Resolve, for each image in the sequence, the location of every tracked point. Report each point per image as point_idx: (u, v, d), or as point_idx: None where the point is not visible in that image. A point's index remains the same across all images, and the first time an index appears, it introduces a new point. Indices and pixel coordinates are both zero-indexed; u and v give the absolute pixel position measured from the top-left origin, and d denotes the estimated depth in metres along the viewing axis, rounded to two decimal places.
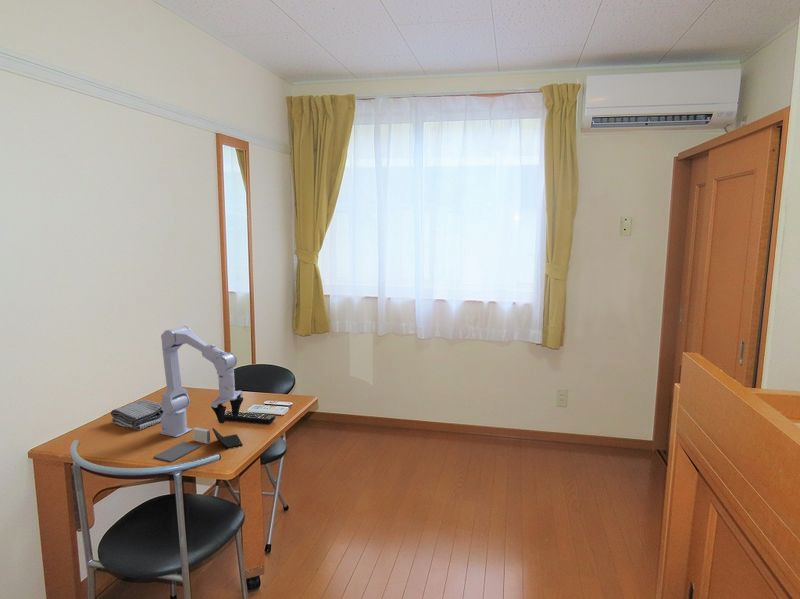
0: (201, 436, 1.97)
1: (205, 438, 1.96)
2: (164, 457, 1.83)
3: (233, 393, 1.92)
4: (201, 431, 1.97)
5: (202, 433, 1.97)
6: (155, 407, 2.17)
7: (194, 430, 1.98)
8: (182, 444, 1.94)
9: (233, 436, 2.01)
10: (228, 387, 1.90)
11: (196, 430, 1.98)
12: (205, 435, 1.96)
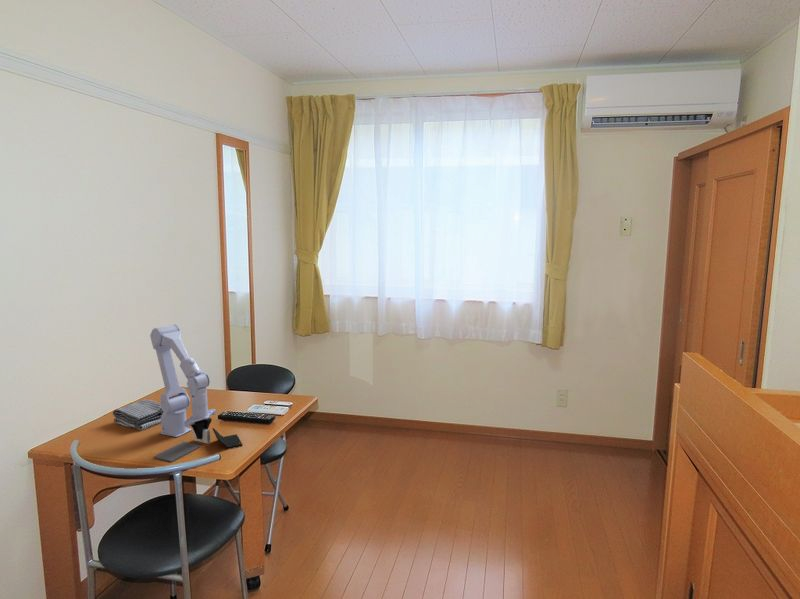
0: None
1: (205, 438, 1.96)
2: (164, 457, 1.83)
3: (206, 412, 1.96)
4: None
5: None
6: (157, 407, 2.17)
7: None
8: (182, 444, 1.94)
9: (233, 436, 2.01)
10: (201, 406, 1.94)
11: None
12: (205, 435, 1.96)
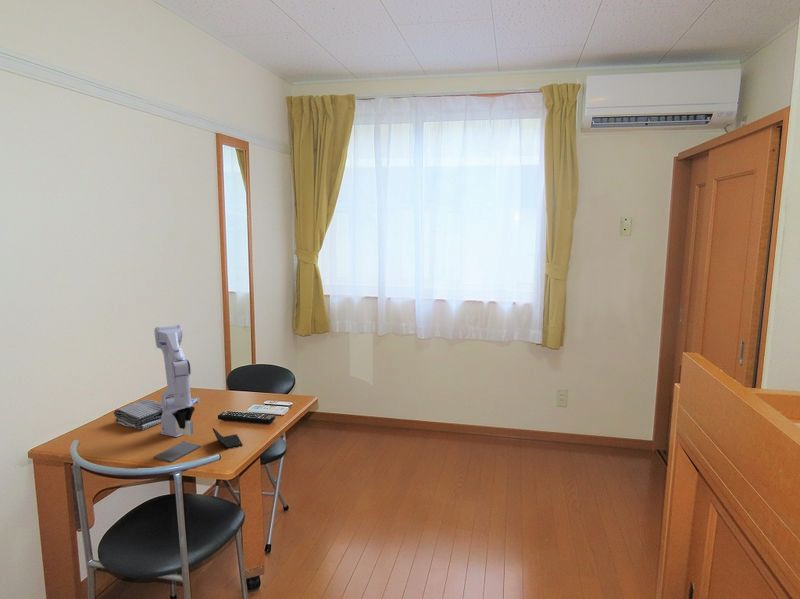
0: (184, 428, 1.90)
1: (188, 430, 1.89)
2: (164, 457, 1.83)
3: (189, 400, 1.89)
4: None
5: (185, 424, 1.90)
6: (158, 407, 2.17)
7: None
8: (182, 444, 1.94)
9: (233, 436, 2.01)
10: (183, 394, 1.87)
11: None
12: (188, 426, 1.89)
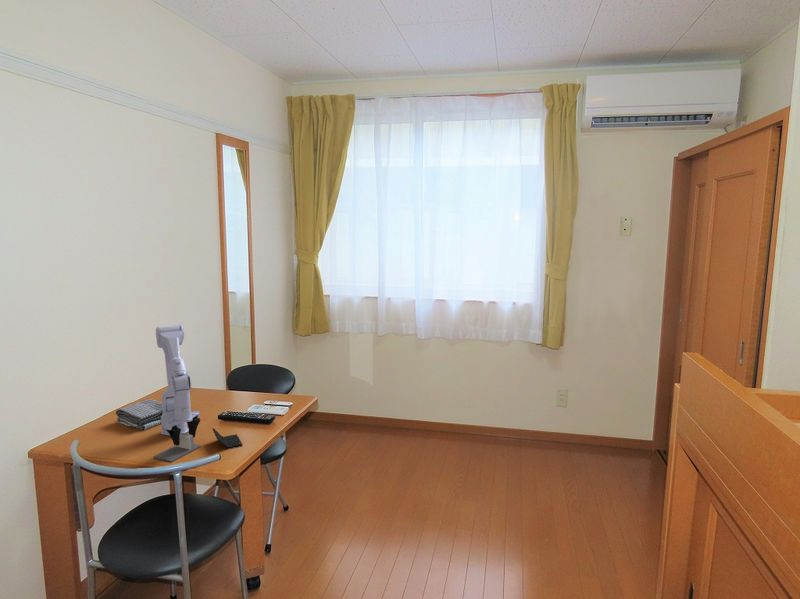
0: (184, 442, 1.91)
1: (188, 444, 1.90)
2: (164, 457, 1.83)
3: (189, 414, 1.89)
4: (184, 437, 1.90)
5: (185, 439, 1.90)
6: (160, 407, 2.17)
7: None
8: None
9: (233, 436, 2.01)
10: (183, 409, 1.87)
11: None
12: (188, 441, 1.90)
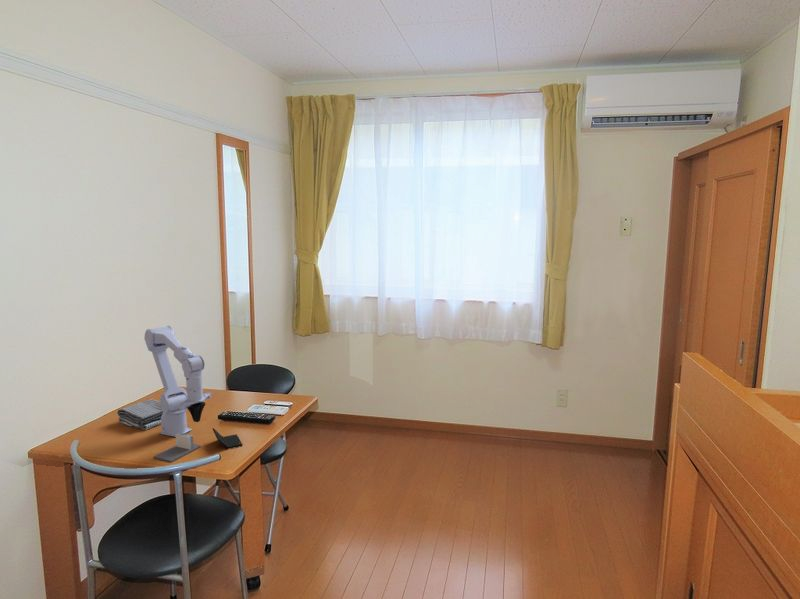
0: (184, 442, 1.91)
1: (188, 444, 1.90)
2: (164, 457, 1.83)
3: (201, 395, 1.94)
4: (184, 437, 1.90)
5: (185, 439, 1.90)
6: None
7: (177, 435, 1.92)
8: None
9: (233, 436, 2.01)
10: (195, 389, 1.92)
11: (179, 435, 1.91)
12: (188, 441, 1.90)
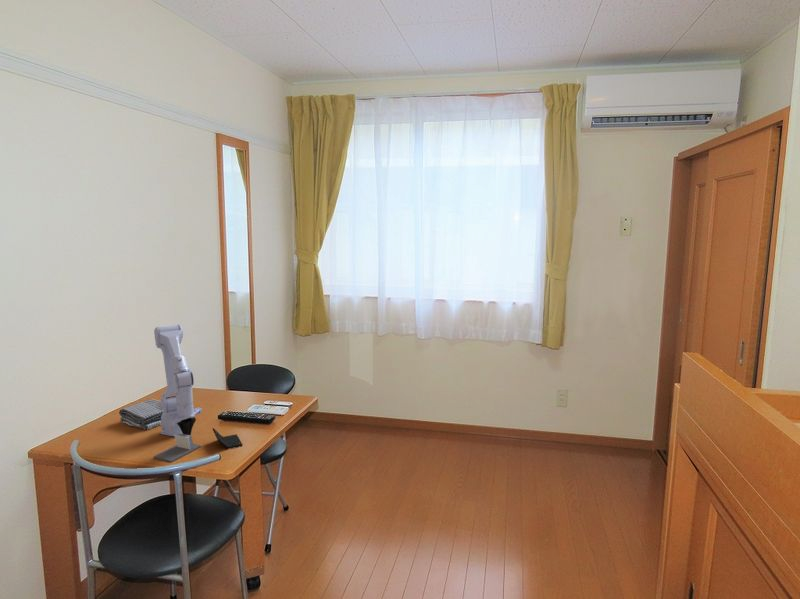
0: (183, 442, 1.90)
1: (188, 444, 1.90)
2: (164, 457, 1.83)
3: (191, 411, 1.90)
4: (183, 437, 1.90)
5: (184, 439, 1.90)
6: None
7: (176, 436, 1.91)
8: None
9: (233, 436, 2.01)
10: (186, 405, 1.88)
11: (178, 436, 1.91)
12: (187, 441, 1.89)
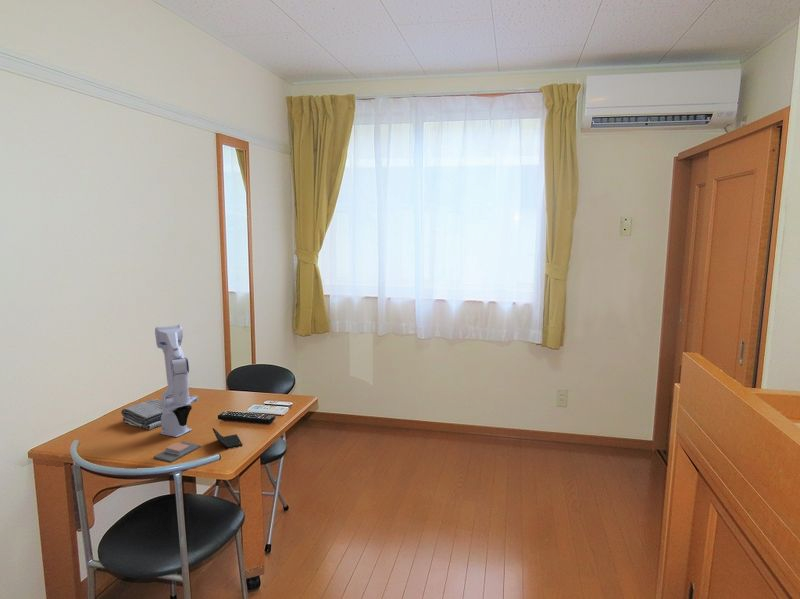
0: None
1: None
2: (164, 457, 1.83)
3: (187, 398, 1.88)
4: None
5: None
6: None
7: None
8: None
9: (233, 436, 2.01)
10: (181, 392, 1.86)
11: None
12: None
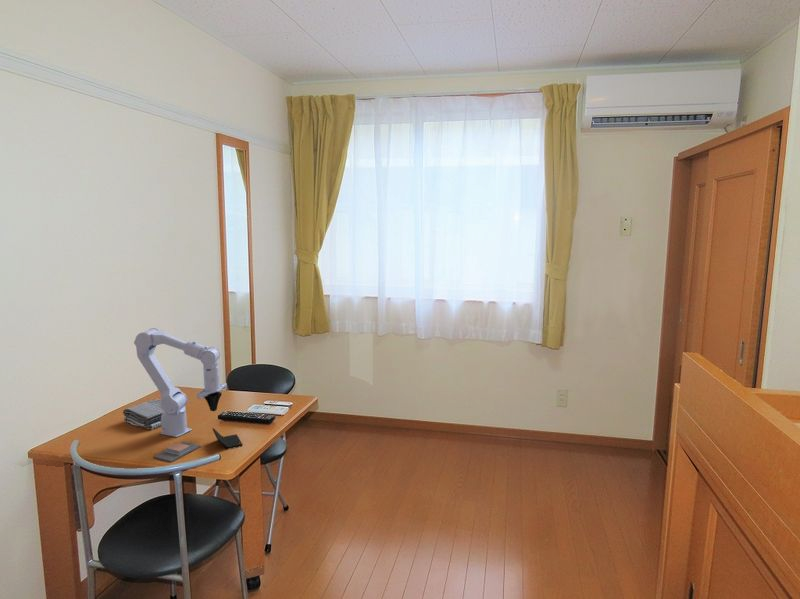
0: None
1: None
2: (164, 457, 1.83)
3: (218, 385, 2.03)
4: None
5: None
6: None
7: None
8: None
9: (233, 436, 2.01)
10: (213, 380, 2.01)
11: None
12: None
